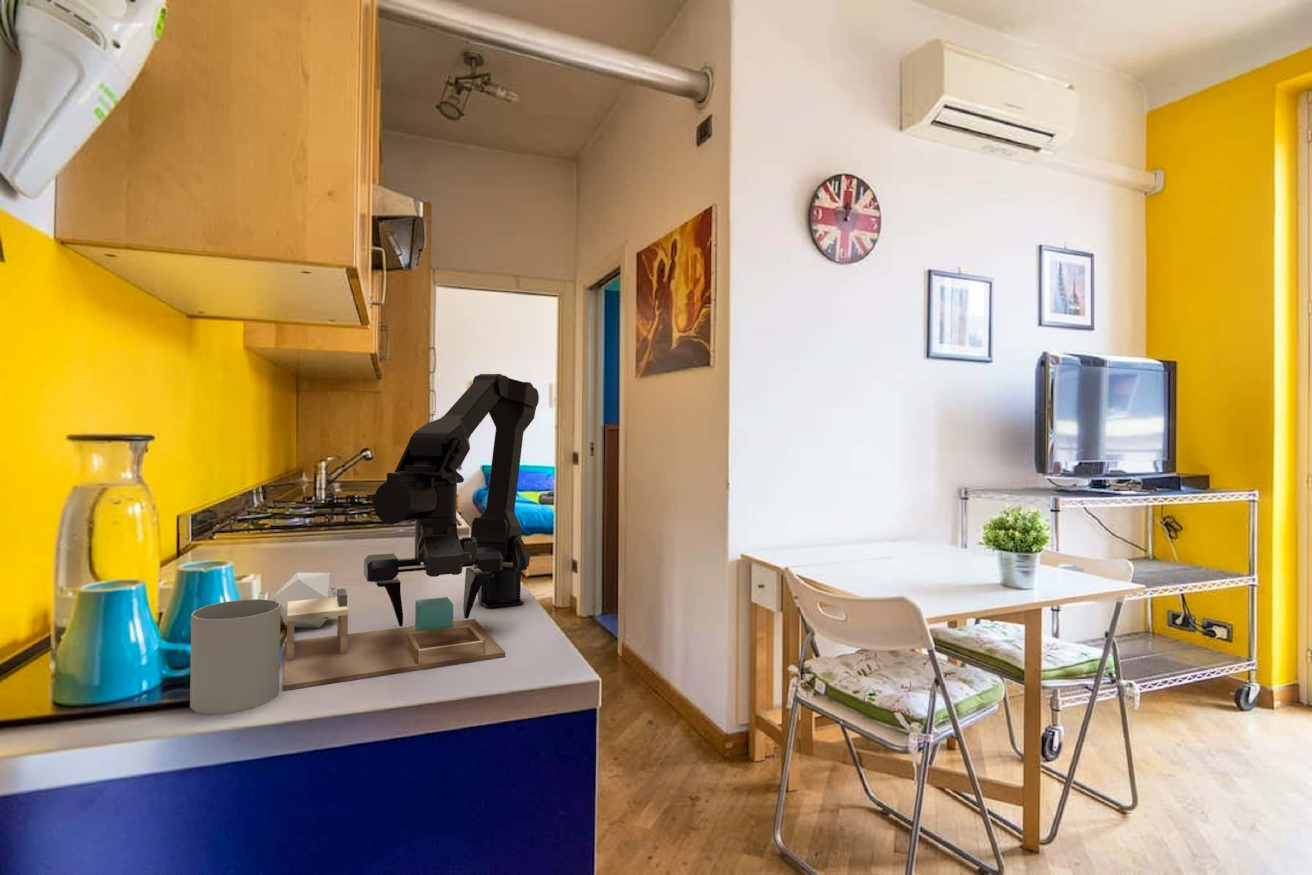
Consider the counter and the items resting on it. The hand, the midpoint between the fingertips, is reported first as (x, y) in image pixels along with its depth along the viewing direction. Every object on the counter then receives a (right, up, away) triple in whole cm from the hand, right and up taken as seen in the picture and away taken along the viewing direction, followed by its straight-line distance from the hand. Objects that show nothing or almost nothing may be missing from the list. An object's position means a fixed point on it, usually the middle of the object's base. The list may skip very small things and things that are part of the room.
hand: (434, 621), depth 95 cm
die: (-21, -2, +5) cm, 22 cm away
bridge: (-13, -1, -7) cm, 15 cm away
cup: (-14, -2, -23) cm, 27 cm away
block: (0, -2, 0) cm, 2 cm away
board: (-3, -2, -6) cm, 8 cm away
